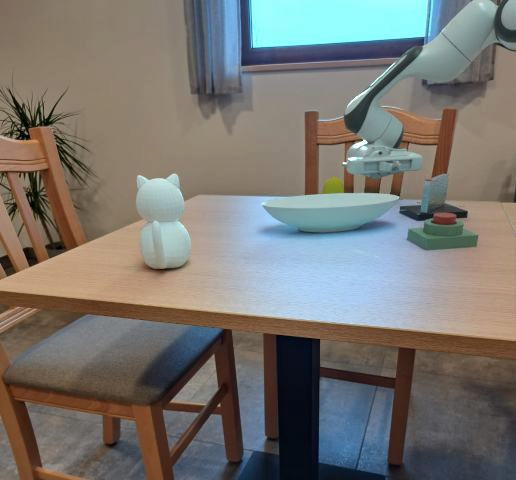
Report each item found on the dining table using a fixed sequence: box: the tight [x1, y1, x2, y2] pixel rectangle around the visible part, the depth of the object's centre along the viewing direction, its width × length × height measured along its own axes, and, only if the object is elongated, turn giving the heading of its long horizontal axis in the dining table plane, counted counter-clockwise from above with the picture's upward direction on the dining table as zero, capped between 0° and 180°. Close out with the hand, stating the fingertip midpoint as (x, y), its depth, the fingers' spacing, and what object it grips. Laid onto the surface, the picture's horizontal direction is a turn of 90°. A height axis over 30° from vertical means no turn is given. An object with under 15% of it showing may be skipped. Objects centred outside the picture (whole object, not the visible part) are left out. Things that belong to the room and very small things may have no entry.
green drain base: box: [406, 218, 479, 251], centre depth 88 cm, size 10×8×4 cm
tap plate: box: [399, 201, 469, 222], centre depth 110 cm, size 16×16×2 cm
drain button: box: [433, 213, 457, 225], centre depth 87 cm, size 4×4×2 cm
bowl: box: [261, 192, 400, 233], centre depth 100 cm, size 30×15×6 cm, turn 97°
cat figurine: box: [135, 173, 192, 270], centre depth 78 cm, size 9×12×15 cm
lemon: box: [321, 175, 345, 194], centre depth 119 cm, size 6×6×8 cm
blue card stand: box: [420, 173, 450, 213], centre depth 108 cm, size 12×2×7 cm, turn 142°
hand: (395, 167), depth 118 cm, fingers closed
